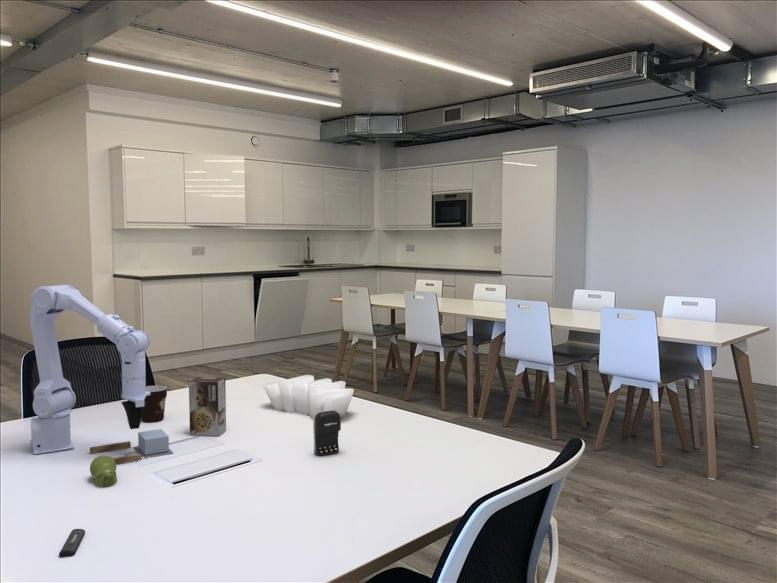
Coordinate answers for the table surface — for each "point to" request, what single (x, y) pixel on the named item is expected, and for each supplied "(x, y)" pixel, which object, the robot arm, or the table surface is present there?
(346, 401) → the white wavy slab sculpture
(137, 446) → the mat
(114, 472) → the pear
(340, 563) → the table surface
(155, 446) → the block
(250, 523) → the table surface
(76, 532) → the usb stick
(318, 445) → the battery charger
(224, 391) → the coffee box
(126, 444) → the chute
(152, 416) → the coffee mug
